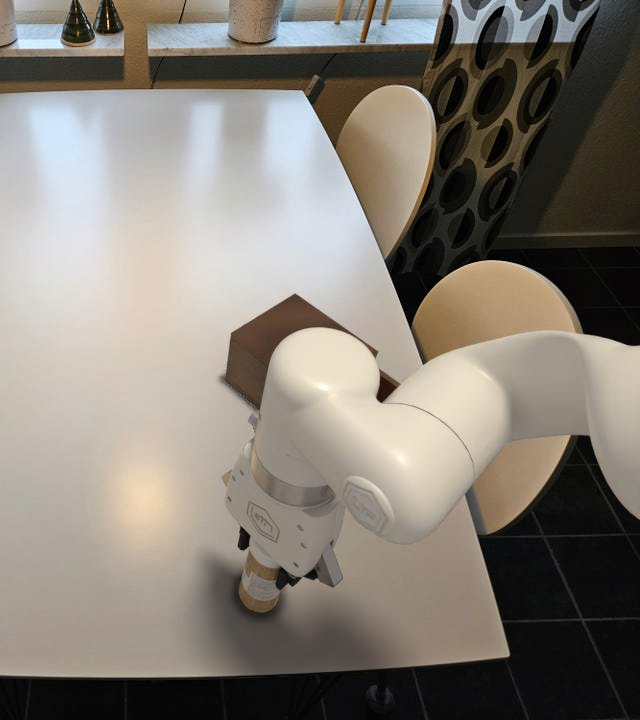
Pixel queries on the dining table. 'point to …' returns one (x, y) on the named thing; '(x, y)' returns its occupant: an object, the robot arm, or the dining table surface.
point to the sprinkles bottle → (259, 579)
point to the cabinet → (271, 343)
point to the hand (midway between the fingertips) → (268, 559)
